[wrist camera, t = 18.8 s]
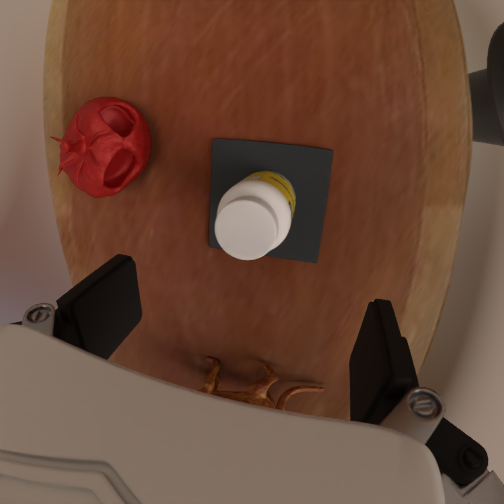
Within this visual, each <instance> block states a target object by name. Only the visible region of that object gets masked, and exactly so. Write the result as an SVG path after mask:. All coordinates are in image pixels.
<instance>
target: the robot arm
mask: <svg viewBox="0 0 504 504" xmlns="http://www.w3.org/2000/svg"><path fill="white" fill-rule="evenodd" d="M56 302H57V305H58V309H56V310H55V308H54V306H53V305H51V304H48V303H41V304H36V305H34V306H32V307H30V308H29V309H28V310H27V311H26V312H25V314H24V316H23V320H22V321H21V322H16V323H11V324H2V325H0V504H504V485H503V483H502V482H501V481H500V479H499V478H498V476H497V475H496V474H495V472H494V471H493V470H492V471H491V472H489V471H488V470H487V466H488V456H487V453H486V451H485V449H484V448H483V447H482V446H481V445H480V444H479V443H477V442H476V441H475V440H473V439H472V438H471V437H469V436H468V435H466V434H465V433H464V432H463V431H461V430H460V429H458V428H457V427H456V426H454V425H453V424H452V423H450V422H449V421H448V420H446V419H445V418H444V417H443V416H444V413H445V403H444V400H443V399H442V397H441V396H440V395H439V394H438V393H437V392H436V391H434V390H432V389H429V388H426V387H419V384H418V379H417V375H416V372H415V368H414V364H413V360H412V356H411V353H410V349H409V346H408V342H407V340H406V338H405V337H401V334H400V330H399V327H398V323H397V320H396V317H395V313H394V310H393V307H392V304H391V301H389V300H383V299H375V300H374V302H369V304H368V307H367V310H366V313H365V316H364V319H363V322H362V325H361V328H360V331H359V334H358V337H357V340H356V343H355V345H354V348H353V351H352V353H351V356H350V362H349V369H350V421H349V420H342V419H336V418H328V417H320V416H313V415H307V414H301V413H295V412H289V411H284V410H278V409H272V408H267V407H262V406H257V405H252V404H248V403H243V402H239V401H235V400H230V399H226V398H222V397H218V396H215V395H211V394H207V393H203V392H200V391H196V390H193V389H189V388H186V387H182V386H179V385H176V384H173V383H169V382H166V381H163V380H160V379H157V378H154V377H151V376H148V375H145V374H143V373H140V372H137V371H134V370H132V369H129V368H126V367H124V366H121V365H118V364H116V363H113V362H111V361H108V360H107V359H108V358H109V357H110V356H111V355H112V353H113V352H114V351H115V350H116V349H117V347H118V346H119V345H120V344H121V343H122V342H123V340H124V339H125V338H126V337H127V336H128V334H129V333H130V332H131V331H132V330H133V329H134V328H135V326H136V325H137V324H138V323H139V322H140V320H141V318H142V309H141V302H140V295H139V288H138V280H137V272H136V264H135V261H134V260H133V259H132V257H131V256H127V255H122V254H118V255H116V256H115V257H113V258H112V259H110V260H109V261H108V262H106V263H105V264H103V265H102V266H101V267H99V268H98V269H97V270H95V271H94V272H93V273H91V274H90V275H89V276H87V277H86V278H85V279H83V280H82V281H81V282H79V283H78V284H77V285H76V286H74V287H73V288H72V289H70V290H69V291H68V292H67V293H65V294H64V295H63V296H62V297H60V298H59V299H58V300H57V301H56Z"/></svg>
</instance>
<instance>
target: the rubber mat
mask: <svg viewBox="0 0 504 504" xmlns="http://www.w3.org/2000/svg"><path fill="white" fill-rule="evenodd" d="M332 156H333V150H328V149H321V148H314V147H306V146H298V145H290V144H280V143H270V142H259V141H247V140H232V139H213V147H212V168H211V193H210V226H209V247H211V248H217V249H223V248H222V247H221V246H220V244H219V243H218V241H217V238H216V235H215V221H216V218H217V210H218V206H219V203H220V201H221V199H222V197H223V196H224V194H225V193H226V192H227V191H228V190H229V189H230V188H232V187H233V186H234V185H236V184H237V183H239V182H240V181H242V180H243V179H245V178H246V177H248V176H250V175H251V174H253V173H256V172H259V171H273V172H276V173H279V174H281V175H282V176H284V177H285V178H286V179H287V180H288V181H289V182H290V183H291V185H292V187H293V189H294V192H295V196H296V206H295V210H294V214H293V218H292V222H291V226H290V229H289V232H288V234H287V236H286V237H285V239H284V240H283V241H282V242H281V244H280V245H278V246H277V247H276V248H274V249H272V250H270V251H269V252H267V253H266V254H265V256H271V257H278V258H285V259H292V260H298V261H305V262H312V263H317V258H318V252H319V246H320V241H321V234H322V228H323V222H324V215H325V209H326V202H327V195H328V188H329V180H330V172H331V164H332Z"/></svg>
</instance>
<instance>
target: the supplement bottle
mask: <svg viewBox="0 0 504 504" xmlns="http://www.w3.org/2000/svg"><path fill="white" fill-rule="evenodd" d="M295 206H296V196H295V192H294V189H293V187H292V185H291V183H290V182H289V181H288V180H287V179H286V178H285V177H284V176H282V175H281V174H279V173H276V172H273V171H259V172H256V173H253V174H251V175H250V176H248V177H246V178H245V179H243V180H242V181H240V182H239V183H237V184H236V185H234V186H233V187H232V188H230V189H229V190H228V191H227V192H226V193H225V194H224V196H223V197H222V199H221V201H220V203H219V206H218V210H217V218H216V221H215V235H216V238H217V241H218V243H219V244H220V246H221V247H222V248H223V250H224V251H226V252H227V253H228V254H230V255H231V256H233V257H235V258H238V259H242V260H253V259H257V258H260V257H262V256H263V255H265V254H266V253H267V252H269V251H270V250H272V249H274V248H276V247H277V246H278V245H280V244H281V242H282V241H283V240H284V239H285V237H286V236H287V234H288V232H289V229H290V226H291V222H292V218H293V214H294V210H295Z"/></svg>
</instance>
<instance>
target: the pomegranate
mask: <svg viewBox="0 0 504 504" xmlns="http://www.w3.org/2000/svg"><path fill="white" fill-rule="evenodd" d="M51 138H53V139H54V140H56V141H58V142H61V145H60V149H61V154H60V163H61V164H60V166H59V174H60V172H61V170H63V171H64V172H65V173H67V174H68V176H69V178H70V180H71V181H72V183H73V184H74V185H75V186H76V187H77V188H79V189H80V190H82V191H84V192H86V193H87V194H88V195H90V196H92V197H95V198H102V197H105V196H112V195H115V194H116V193H118V192H120V191H121V190H123V189H124V188H125V187H127V186H128V185H129V184H130V183H131V182H132V181H134V180H135V179H136V178H137V176H138V175H139V174H140V173H141V172H142V171H143V170H144V169H145V167H146V165H147V163H148V159H149V156H150V149H151V137H150V133H149V128H148V125H147V123H146V121H145V119H144V118H143V115H142V114H141V113H140V112H139V111H138V110H137V108H136V107H135V106H133V105H132V104H131V103H129V102H127V101H124V100H121V99H119V98H115V97H100V98H95V99H93V100H90V101H88V102H87V103H85V104H84V105H83V106H82V107H81V108H80V109H79V110H78V111H77V112H75V115H74V116H73V118H72V120H71V122H70V124H69V126H68V128H67V130H66V132H65V135H64V136H63V139H62V140H60V139H58V138H54V137H51ZM59 174H58V175H59Z"/></svg>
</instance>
